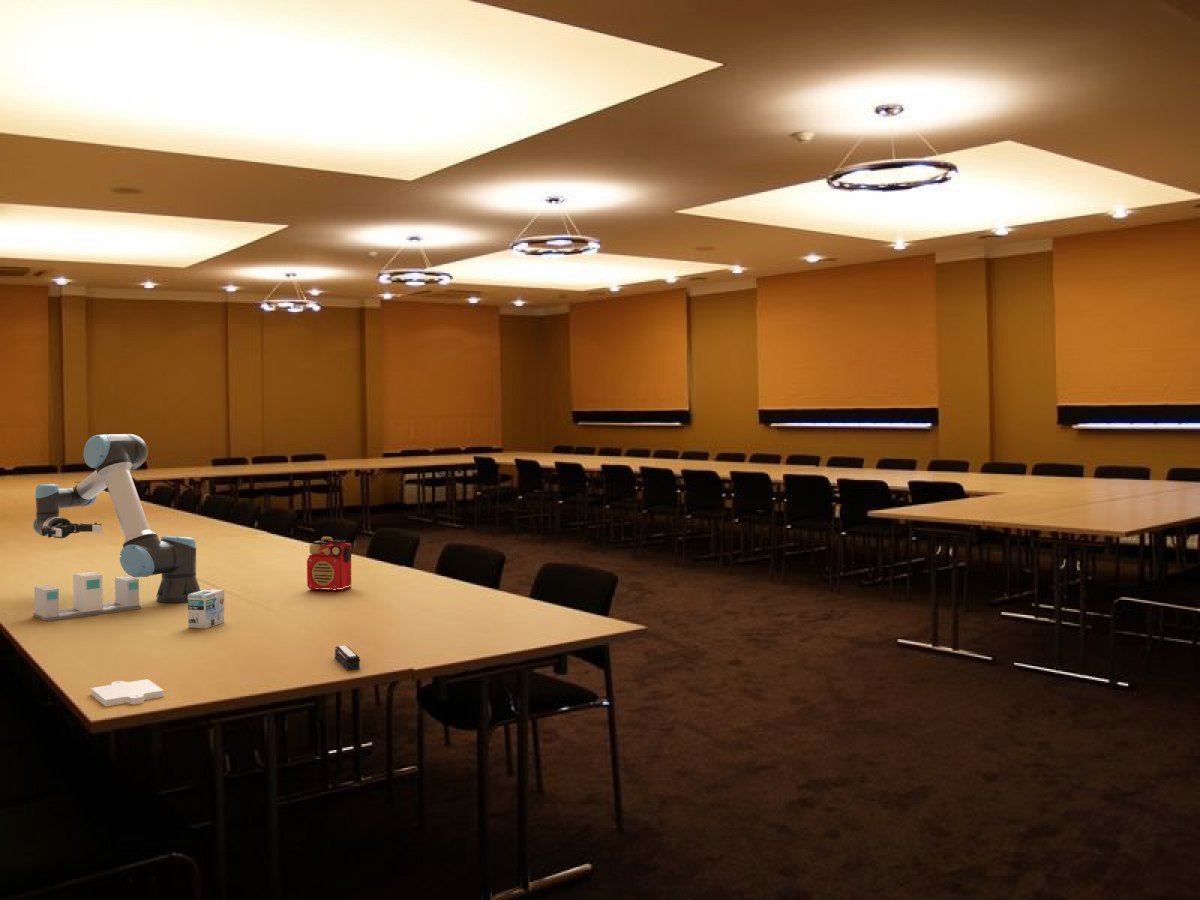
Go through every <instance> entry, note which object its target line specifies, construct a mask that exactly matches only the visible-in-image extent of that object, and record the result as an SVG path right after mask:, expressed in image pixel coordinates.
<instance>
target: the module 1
mask: <svg viewBox="0 0 1200 900" xmlns="http://www.w3.org/2000/svg"><path fill="white" fill-rule="evenodd" d="M59 610H60V590H59V588H57V587H54V586H51V585H48V584H46V585H45V584H44V585H38V586H37V585H36V586H34V613H35V614H37V615H40V616H43V617H45V618H48V617H55V616H59Z"/></svg>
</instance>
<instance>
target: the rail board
mask: <svg viewBox="0 0 1200 900" xmlns="http://www.w3.org/2000/svg"><path fill="white" fill-rule="evenodd" d="M140 609H142V605H140V604H139V605H136V606H129V607H127V606H124V605H120V604H117V603H115V601H114V602H106V603H103V610H95V611H88V612H83V611H79V610H76V609H74V607H68V608H62V609H60V608H59V616H55V617H48V618H45V617H43V616H40V615H37V614H35V612H33V613H32V616H33V617H35V618H37V619H39V620H43V621H45V622H54V621H59V620H68V619H75V618H83V617H89V616H97V615H103V614H112V613H117V612H118V613H119V612H126V611H133V610H140Z"/></svg>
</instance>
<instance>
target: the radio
mask: <svg viewBox="0 0 1200 900" xmlns="http://www.w3.org/2000/svg"><path fill="white" fill-rule="evenodd" d="M326 541H327V542H326ZM309 553H310V554H309V555H308V558H307V560H306V585H307V588H308V589H309V590H314V591H315V590H317V589H314V588H330V589H318V590H319V591H321V590H323V591H334V590H333V589H336V590H335V592H336V591H338V592H341V591H345V590H346V589H347V588H350V589H352V543H349V542H347V540H345V539H343V540H342V539H335V540H334V538H333V537H332V536H322V537H321V538H320V540H313V542H312V543H310V544H309ZM349 585H351V586H349ZM345 586H349V587H345ZM343 587H345V588H343ZM331 588H332V589H331ZM337 588H343V589H337ZM347 590H348V589H347Z"/></svg>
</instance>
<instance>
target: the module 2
mask: <svg viewBox="0 0 1200 900" xmlns="http://www.w3.org/2000/svg"><path fill="white" fill-rule="evenodd" d="M114 579H115V580H114V582H115V584H114V585H115V587H114V590H115V591H114V594H115V597H114V599H115V600H114V602H115V603H117V604H120V605H124V606H127V607H129V606H136V605H140V580H139V578H136V577H132V576H126V575H125V576H117V577H114Z"/></svg>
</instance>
